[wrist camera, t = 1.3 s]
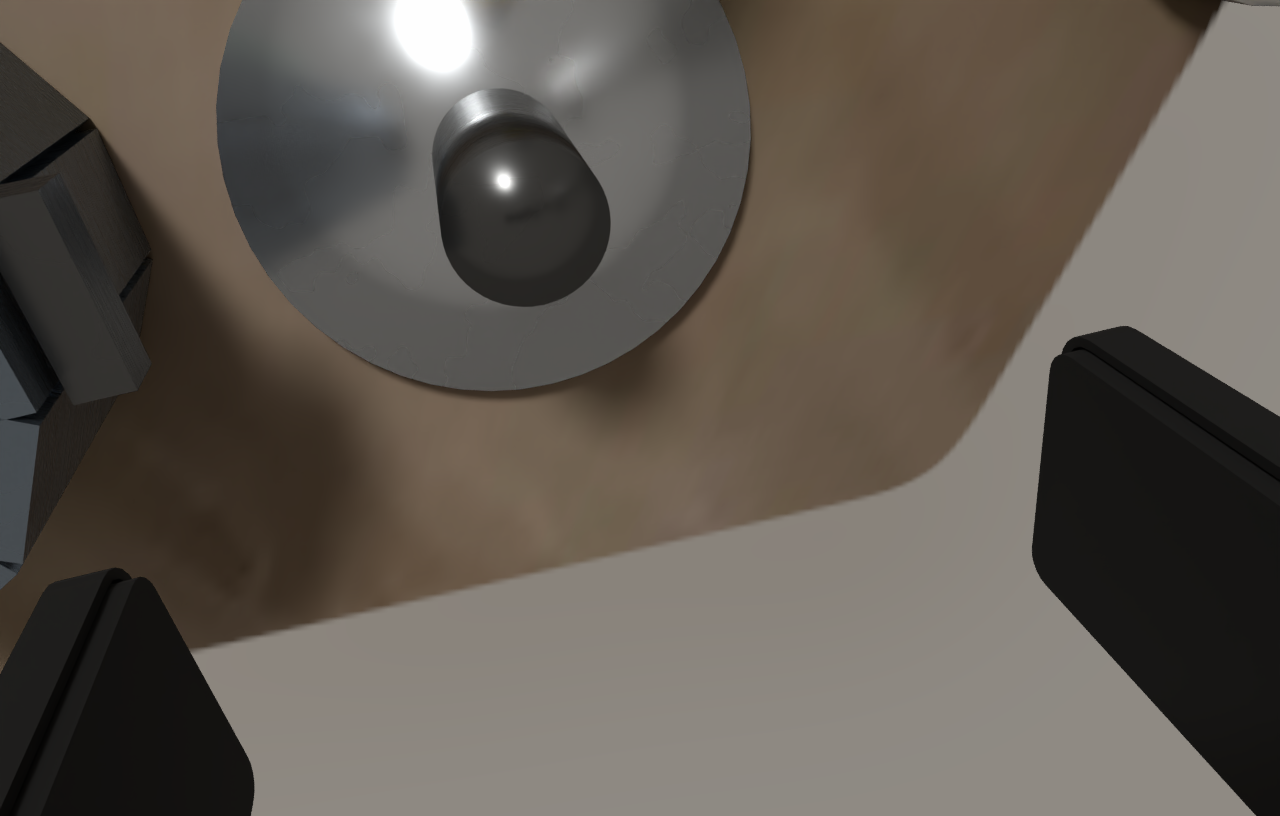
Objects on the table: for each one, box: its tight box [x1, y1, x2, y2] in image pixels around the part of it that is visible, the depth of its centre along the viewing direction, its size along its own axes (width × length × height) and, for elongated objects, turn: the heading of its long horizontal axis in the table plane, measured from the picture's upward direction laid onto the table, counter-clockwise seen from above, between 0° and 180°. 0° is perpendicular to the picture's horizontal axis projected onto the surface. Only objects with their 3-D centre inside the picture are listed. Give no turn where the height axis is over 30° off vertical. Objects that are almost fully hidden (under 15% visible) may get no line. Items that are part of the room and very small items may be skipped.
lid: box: [216, 0, 751, 391], centre depth 22 cm, size 14×14×7 cm
